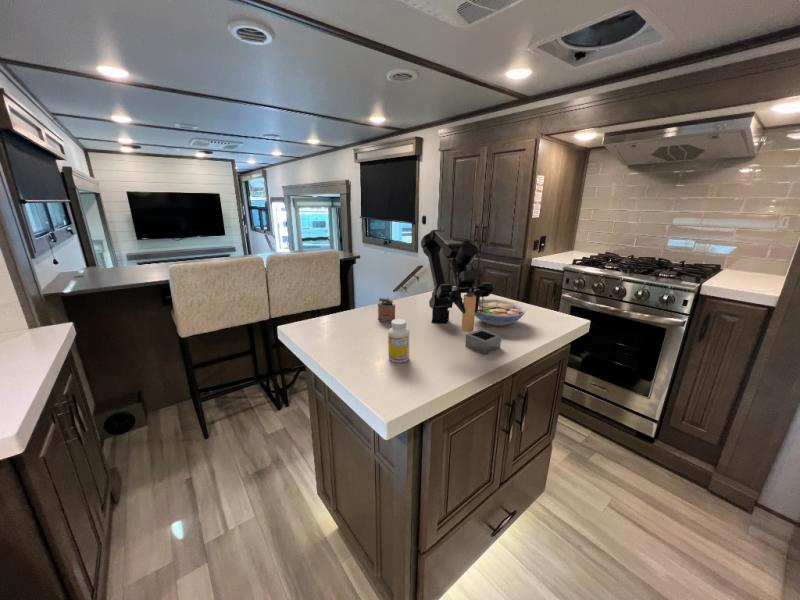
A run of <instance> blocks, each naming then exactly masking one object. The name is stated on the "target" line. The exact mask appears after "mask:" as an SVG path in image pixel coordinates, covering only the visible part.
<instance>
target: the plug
mask: <svg viewBox="0 0 800 600" xmlns="http://www.w3.org/2000/svg"><path fill="white" fill-rule="evenodd" d="M473 294H474V293H472V289H471V288H469V292H467V293H465V294H463V299H462V301H463V305H464V309H465V313H464V314H463V313H461V315H462V318H461V331H462V332H465V333H471V332H474V328H475V326H474V325H475V318H476V316H475V304H476V296H475V295H473Z"/></svg>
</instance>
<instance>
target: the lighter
mask: <svg viewBox="0 0 800 600" xmlns="http://www.w3.org/2000/svg"><path fill="white" fill-rule="evenodd" d="M378 301H379V302H378V303H377V307H378V308H377V313H378V315H377V316H378V317H377V321H378V320H379V322H381V321H384V322H383V323H387V322H389V324H391V321H392V320H394V319H396V304H395V303H393V302H394V300H393V299H390V298H389V297H387V298H384V297H379V298H378Z"/></svg>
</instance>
